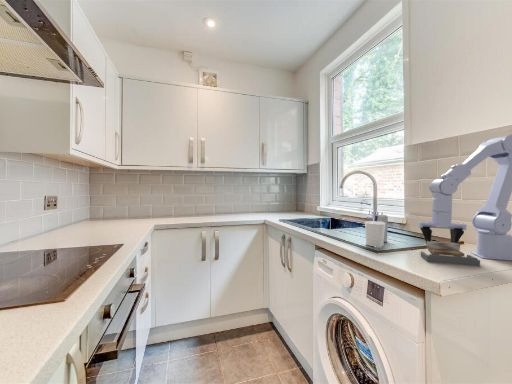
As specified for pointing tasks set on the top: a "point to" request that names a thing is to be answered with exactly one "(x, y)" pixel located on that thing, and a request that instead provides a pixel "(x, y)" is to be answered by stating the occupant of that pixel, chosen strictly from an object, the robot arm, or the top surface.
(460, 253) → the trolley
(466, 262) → the dock
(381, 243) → the white cup
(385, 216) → the energy drink
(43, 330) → the top surface
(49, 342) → the top surface
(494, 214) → the robot arm
